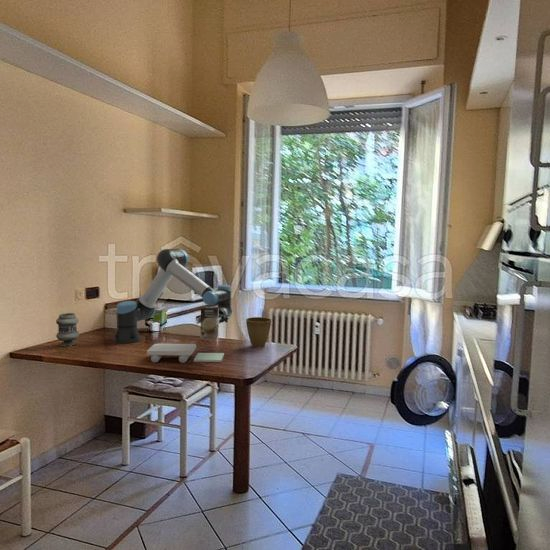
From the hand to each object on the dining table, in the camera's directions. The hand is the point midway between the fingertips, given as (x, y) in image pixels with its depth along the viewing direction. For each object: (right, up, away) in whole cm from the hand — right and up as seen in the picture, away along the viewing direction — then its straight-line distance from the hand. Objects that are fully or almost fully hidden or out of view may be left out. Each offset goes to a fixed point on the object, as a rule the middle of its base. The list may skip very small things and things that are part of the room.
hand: (207, 321), depth 236 cm
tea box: (-45, -13, +78) cm, 91 cm away
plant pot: (+25, -18, +34) cm, 46 cm away
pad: (0, -20, +6) cm, 21 cm away
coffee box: (+1, -9, +5) cm, 10 cm away
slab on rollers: (-19, -20, +4) cm, 27 cm away
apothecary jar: (-85, -17, +30) cm, 92 cm away
